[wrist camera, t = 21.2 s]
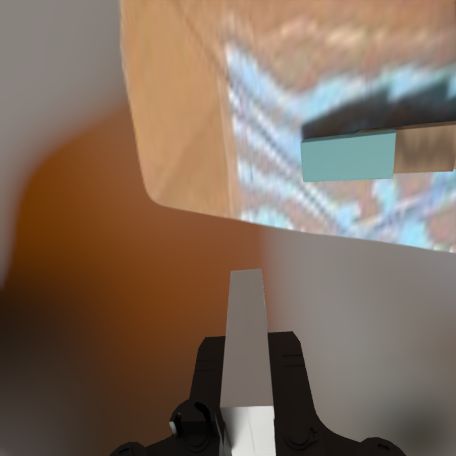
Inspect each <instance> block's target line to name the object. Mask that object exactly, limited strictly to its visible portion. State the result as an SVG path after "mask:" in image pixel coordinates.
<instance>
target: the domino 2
mask: <svg viewBox="0 0 456 456" xmlns="http://www.w3.org/2000/svg"><path fill="white" fill-rule="evenodd" d="M389 129H395V131H396V140H395V154H394V168H393V173H419V172H448V171H453V169H454V164H455V159H456V121H448V122H438V123H428V124H417V125H407V126H397V127H387V128H377V129H366V130H357V131H356V133H362V132H371V131H380V130H389Z"/></svg>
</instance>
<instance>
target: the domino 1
mask: <svg viewBox="0 0 456 456" xmlns="http://www.w3.org/2000/svg"><path fill="white" fill-rule="evenodd" d="M395 140H396V131H395V129H389V130H380V131H371V132H362V133H353V134H344V135H335V136H326V137H317V138H308V139H304V140H303V141H302V142H301V156H302V170H303V182H319V181H343V180H367V179H391V178H393V168H394V154H395Z"/></svg>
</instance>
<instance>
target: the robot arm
mask: <svg viewBox="0 0 456 456" xmlns="http://www.w3.org/2000/svg"><path fill="white" fill-rule="evenodd" d="M194 371H195V372H194V375H193V381H192V386H191V392H190V397H189V399H188V400H186V401H184V402H183V403H182V404H180V405H179V406H178V407H177V408H176V409H175V411H174V412H173V413H172V416H171V418H170V421H169V422H170V426H171V428H172V430H173V433H174V434H172V435H171V436H170V437H168V438H166V439H164V440H162V441H160V442H157V443H154V444H152V445H149V446H147V447H144V446H142V445H141V444H139V443H138V442H128V443H126V444H123V445H121V446H119V447H118V448H117V449H115V450H114V451H113V452H112V453H111V454H110V456H231V452H232V456H406V455H405V454H404V453H403V451H402V450H401V449H400V448H399V447H397V446H396V445H394V444H393V443H391V442H390V441H388V440H385V439H382V438H379V437H373V438H367V439H365V440H364V441H362V442H357V441H354V440H351V439H348V438H345V437H343V436H340V435H338V434H336V433H334V432H332V431H331V430H329V429H328V428H327V427H326V426H325V425H324V424H323V423H322V422H321V421H320V419H319V417H318V416H317V414H316V411H315V408H314V404H313V399H312V394H311V390H310V385H309V381H308V376H307V371H306V368H305V362H304V358H303V353H302V348H301V343H300V341H299V340H298V338H297V337H296V335H295V334H294V333H293V332H292V331H291V332H273V333H268V327H267V316H266V306H265V297H264V288H263V279H262V271H261V269H251V270H240V271H231V277H230V290H229V303H228V314H227V326H226V336H220V337H205V339H204V340H203V342H202V343H201V345H200V347H199V348H198V354H197V359H196V364H195V370H194Z"/></svg>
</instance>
